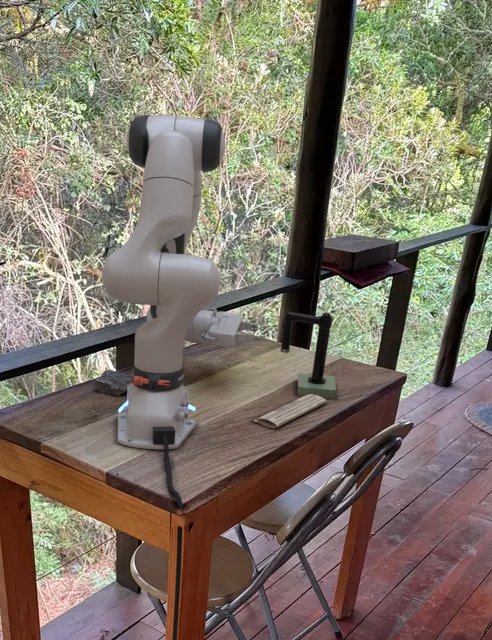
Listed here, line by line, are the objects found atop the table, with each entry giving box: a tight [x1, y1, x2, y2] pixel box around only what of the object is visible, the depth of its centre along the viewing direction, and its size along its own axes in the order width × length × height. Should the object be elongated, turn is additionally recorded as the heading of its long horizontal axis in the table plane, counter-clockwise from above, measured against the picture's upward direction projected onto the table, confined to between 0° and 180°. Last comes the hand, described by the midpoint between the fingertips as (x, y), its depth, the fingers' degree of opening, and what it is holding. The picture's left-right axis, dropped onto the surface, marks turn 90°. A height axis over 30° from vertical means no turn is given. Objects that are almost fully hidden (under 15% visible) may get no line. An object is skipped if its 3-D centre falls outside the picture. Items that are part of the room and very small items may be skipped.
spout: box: [280, 311, 334, 354], centre depth 199 cm, size 13×3×12 cm, turn 64°
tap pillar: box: [308, 326, 331, 384], centre depth 200 cm, size 5×5×15 cm
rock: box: [94, 369, 132, 396], centre depth 197 cm, size 8×10×4 cm
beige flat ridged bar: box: [253, 394, 327, 429], centre depth 189 cm, size 24×7×2 cm, turn 140°
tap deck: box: [296, 372, 337, 400], centre depth 204 cm, size 11×10×2 cm
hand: (255, 332), depth 202 cm, fingers open, 8 cm apart
